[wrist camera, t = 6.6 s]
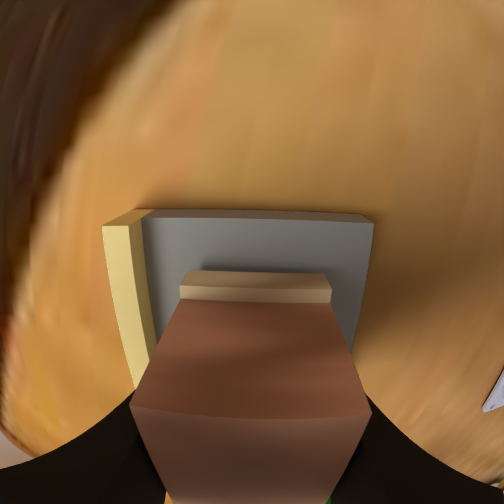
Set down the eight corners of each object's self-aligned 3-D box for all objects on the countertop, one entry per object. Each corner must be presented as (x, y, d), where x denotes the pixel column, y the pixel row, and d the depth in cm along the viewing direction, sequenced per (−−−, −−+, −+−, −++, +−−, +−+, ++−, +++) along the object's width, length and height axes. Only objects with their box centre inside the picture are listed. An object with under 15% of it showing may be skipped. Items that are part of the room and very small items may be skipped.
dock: (361, 214, 11) (386, 232, 9) (327, 400, 14) (335, 437, 12) (132, 209, 11) (101, 226, 9) (161, 393, 15) (148, 428, 12)
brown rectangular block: (324, 273, 10) (378, 397, 4) (303, 407, 12) (316, 517, 7) (188, 269, 10) (123, 388, 5) (201, 404, 12) (178, 512, 7)
